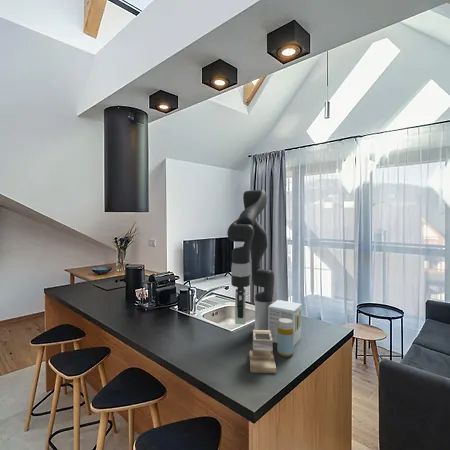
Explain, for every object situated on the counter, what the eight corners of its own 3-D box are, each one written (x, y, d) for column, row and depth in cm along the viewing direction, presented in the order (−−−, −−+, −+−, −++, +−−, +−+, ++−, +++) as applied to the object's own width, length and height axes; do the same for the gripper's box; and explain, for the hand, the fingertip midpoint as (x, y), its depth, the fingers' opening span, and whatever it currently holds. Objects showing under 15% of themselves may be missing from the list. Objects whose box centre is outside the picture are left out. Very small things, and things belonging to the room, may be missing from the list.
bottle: (274, 353, 128) (274, 320, 127) (283, 348, 133) (283, 316, 132) (287, 359, 123) (288, 324, 122) (296, 353, 128) (296, 320, 127)
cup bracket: (249, 355, 126) (249, 328, 126) (272, 355, 126) (272, 328, 125) (250, 372, 112) (250, 341, 112) (276, 373, 112) (276, 342, 111)
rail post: (235, 320, 118) (235, 291, 118) (245, 320, 118) (245, 291, 117) (235, 324, 114) (235, 294, 114) (245, 324, 114) (245, 294, 113)
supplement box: (293, 347, 133) (294, 310, 133) (267, 341, 140) (267, 306, 140) (301, 337, 145) (302, 303, 144) (277, 332, 152) (277, 299, 151)
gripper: (232, 270, 123) (232, 309, 123) (230, 277, 108) (230, 322, 109) (249, 270, 122) (249, 310, 123) (250, 277, 108) (250, 322, 109)
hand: (240, 315), depth 116 cm, fingers closed on rail post, 4 cm apart
